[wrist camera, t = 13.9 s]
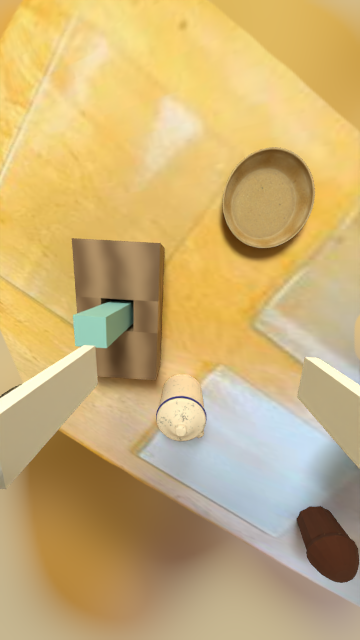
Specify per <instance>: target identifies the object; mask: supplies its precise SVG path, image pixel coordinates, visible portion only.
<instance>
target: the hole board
mask: <svg viewBox="0 0 360 640" xmlns="http://www.w3.org/2000/svg"><path fill="white" fill-rule="evenodd" d="M72 247H73V261H74V275H75V289H76V302H77V314H78V313H80V312H83V311H86V310H88V309H91V308H94V307H96V306H99V305H102V304H104V303H107V302H110V301H112V300H131V301H134V323H133V324H132V325H131V326H130V327H129V328H128V329H127V330H126V331H124V332H123V333H122V334H121V335H120V336H119V337H118V338H117V339H116V340H115V341H114V342H113V343H112V344H111V345H110V346H109V347H108V348H96V347H95V350H96V365H97V376H101V377H115V378H129V379H144V380H156V379H157V375H158V372H159V368H160V359H161V330H162V302H163V274H164V247H163V246H162V245H161V244H160V243H146V242H128V241H110V240H92V239H74V238H72ZM80 347H81V346H80Z"/></svg>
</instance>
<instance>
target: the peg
mask: <svg viewBox="0 0 360 640" xmlns="http://www.w3.org/2000/svg"><path fill="white" fill-rule="evenodd" d="M73 321H74V334H75V346H81V347H82V346H83V345H90V346H95V347H96V348H108V347H109V346H110V345H111V344H112V343H113V342H114V341H115V340H116V339H117V338H118V337H119V336H120V335H121V334H122V333H123V332H124V331H126V330H127V329H128V328H129V327H130V326H131V325H132V324H133V323H134V301H131V300H112V301H110V302H107V303H104V304H102V305H99V306H96V307H94V308H91V309H88V310H86V311H83V312H80V313H78V314H75V315H73Z"/></svg>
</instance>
